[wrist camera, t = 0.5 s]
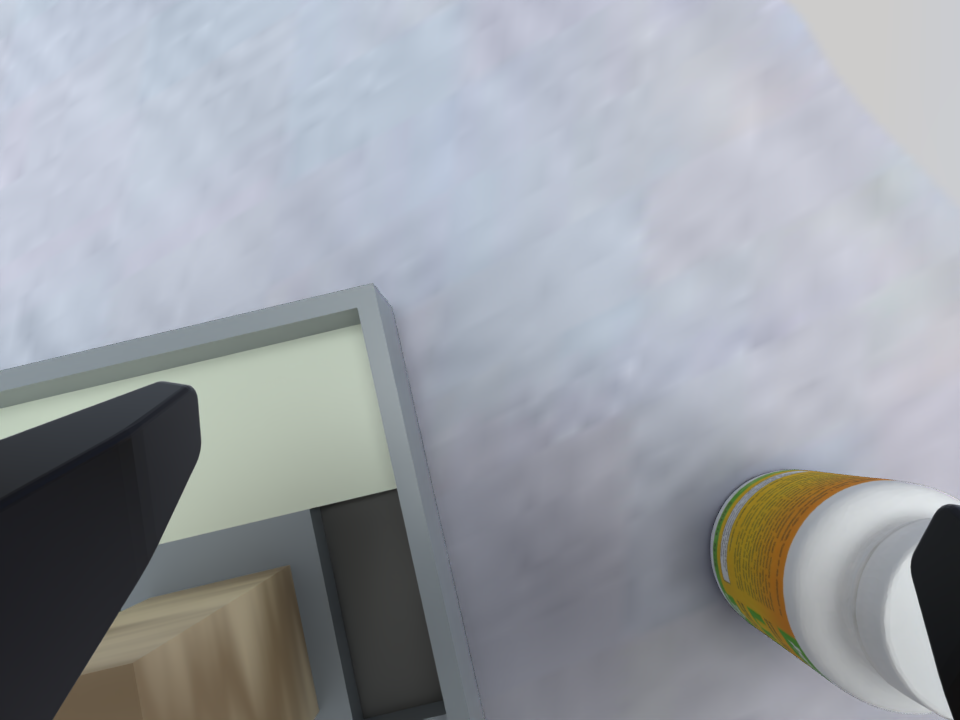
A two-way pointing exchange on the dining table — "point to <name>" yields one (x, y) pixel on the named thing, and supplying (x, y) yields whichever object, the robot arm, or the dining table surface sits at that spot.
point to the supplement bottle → (835, 579)
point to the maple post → (202, 657)
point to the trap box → (298, 489)
